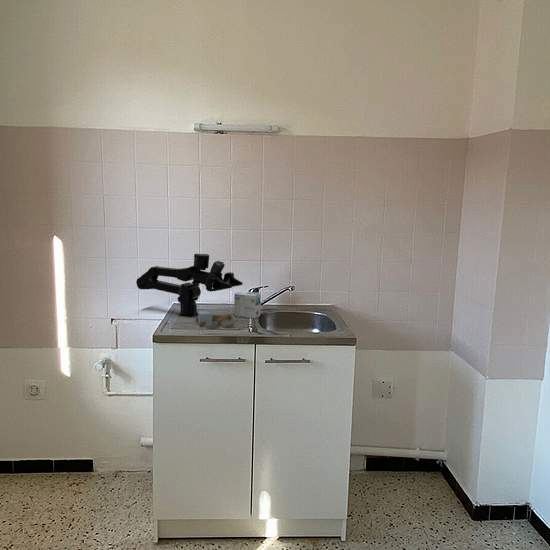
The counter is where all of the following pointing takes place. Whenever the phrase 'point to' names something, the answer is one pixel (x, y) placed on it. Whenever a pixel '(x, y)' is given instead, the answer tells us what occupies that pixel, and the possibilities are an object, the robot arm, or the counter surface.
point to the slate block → (205, 317)
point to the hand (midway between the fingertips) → (237, 285)
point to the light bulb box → (247, 304)
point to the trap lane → (220, 317)
